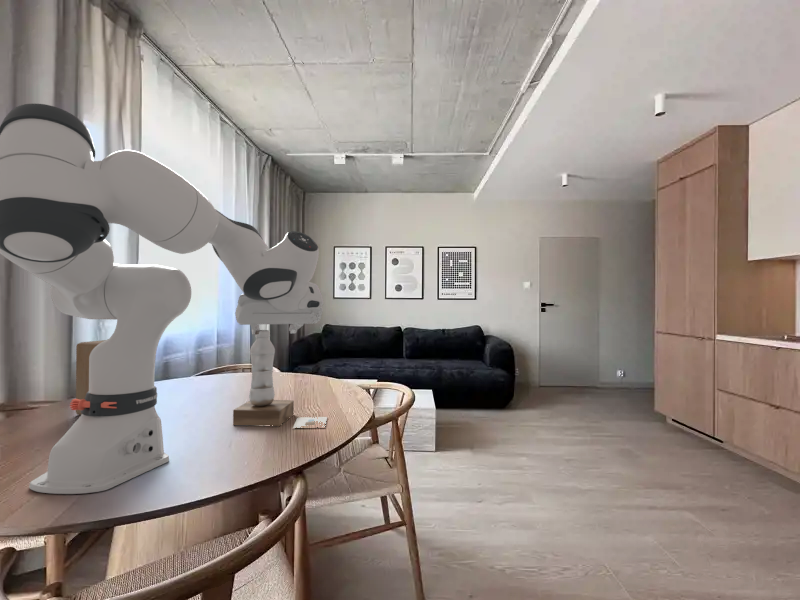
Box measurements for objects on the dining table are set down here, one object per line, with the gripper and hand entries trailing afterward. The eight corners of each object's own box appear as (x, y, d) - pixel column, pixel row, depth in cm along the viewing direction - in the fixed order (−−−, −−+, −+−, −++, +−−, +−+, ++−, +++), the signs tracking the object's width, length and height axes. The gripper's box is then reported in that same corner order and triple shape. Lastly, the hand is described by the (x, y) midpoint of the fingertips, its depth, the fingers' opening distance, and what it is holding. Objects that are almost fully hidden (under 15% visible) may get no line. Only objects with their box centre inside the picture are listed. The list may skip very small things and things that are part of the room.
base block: (279, 426, 113) (279, 411, 113) (233, 425, 114) (233, 409, 114) (293, 414, 125) (293, 400, 125) (251, 413, 126) (251, 399, 126)
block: (73, 415, 122) (74, 342, 122) (107, 407, 131) (108, 339, 131) (101, 418, 119) (102, 343, 119) (134, 410, 129) (134, 340, 129)
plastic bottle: (244, 407, 116) (245, 331, 116) (256, 402, 123) (257, 329, 123) (267, 409, 115) (268, 331, 115) (278, 403, 122) (279, 329, 122)
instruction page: (325, 428, 112) (325, 426, 112) (292, 429, 111) (292, 427, 111) (327, 417, 122) (327, 416, 122) (297, 418, 121) (297, 417, 121)
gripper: (242, 302, 97) (232, 343, 105) (330, 302, 108) (314, 340, 116) (238, 282, 101) (228, 323, 109) (323, 284, 111) (309, 322, 120)
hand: (273, 332), depth 112 cm, fingers open, 8 cm apart
